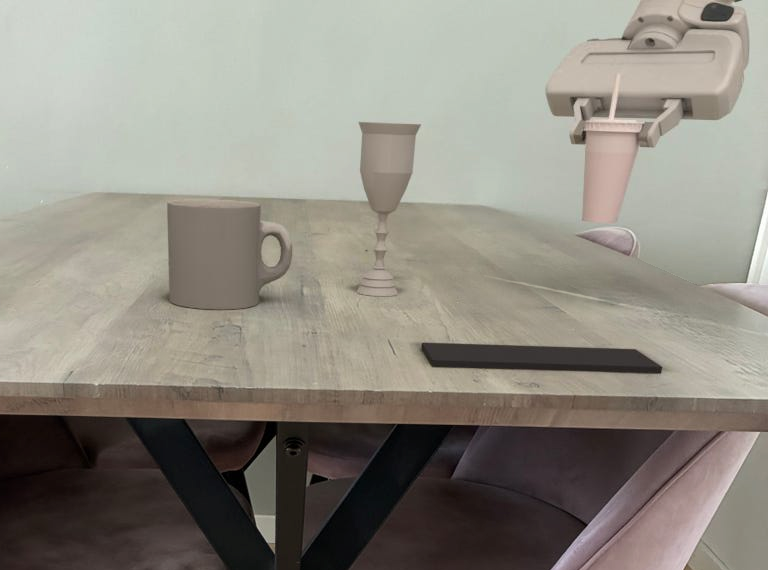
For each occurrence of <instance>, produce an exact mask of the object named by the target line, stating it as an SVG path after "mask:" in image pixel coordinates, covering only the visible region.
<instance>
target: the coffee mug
mask: <svg viewBox="0 0 768 570" xmlns="http://www.w3.org/2000/svg"><path fill="white" fill-rule="evenodd" d="M166 203H167V205H166V207H167V209H166V210H167V211H166V213H167V214H166V215H167V250H168V251H167V254H168V289H169V290H168V291H169V295H168V297H169V302H170V303H171V304H173V305H175V306H180V307H184V308H190V309H197V310H218V311H219V310H220V311H221V310H222V311H223V310H224V311H225V310H241V309H247V308H253V307H255V306H258V305H259V303H260V292H261V289H262V288H263V287H264V286H265V285H268V284H270V283H272V282H274V281H277V280H279V279H281V278H282V277H283V276H285V275H286V273H287V272H288V271H289V269H290V267H291V264H292V259H293V241H292V237H291V235H290V232H289V231H288V229H287V228H286V227H285V226H284V225H282V224H280V223H278V222H273V221H266V220H262V219H261V217H262V216H261V214H262V211H261V210H262V207H261V204H260V203H258V202H254V201H253V202H252V201H248V200H247V201H246V200H234V199H219V198H218V199H217V198H216V199H215V198H185V199H182V198H181V199H172V200H168V201H167V202H166ZM269 236H272V237H274V238H275V239H277V241H278V244H279V247H280V256H279V260H278V262H277V263H276V264H275V265H273V266H268V265H266V263H265V262H264V259H263V256H262V248H263V243H264V240H265V239H266V238H267V237H269Z"/></svg>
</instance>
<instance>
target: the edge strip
mask: <svg viewBox="0 0 768 570" xmlns="http://www.w3.org/2000/svg"><path fill="white" fill-rule="evenodd" d="M420 346H421V347H420V349H421V351H422V352H423V354H424V355H425V357H426V359H427V360H428V362H429V364H430V366H431V367H432V368H434V367H435V368H461V369H462V368H464V369H491V370H492V369H493V370H494V369H495V370H496V369H497V370H529V371H530V370H532V371H558V372H559V371H560V372H561V371H563V372H565V371H566V372H593V373H595V372H596V373H597V372H598V373H625V374H626V373H627V374H629V373H630V374H657V375H658V374H662V372H663V366H662V365H660V364H659V363H657V362H656V361H655V360H653V359H651V358H650V357H648V356H647V355H645V354H643V353H642V352H641V351H640V350H638V349H636V348H610V347H609V348H608V347H581V346H580V347H576V346H549V345H547V346H546V345H515V344H514V345H513V344H483V343H482V344H481V343H479V344H478V343H453V342H452V343H451V342H450V343H449V342H421V345H420Z"/></svg>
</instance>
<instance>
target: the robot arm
mask: <svg viewBox="0 0 768 570" xmlns="http://www.w3.org/2000/svg"><path fill="white" fill-rule="evenodd" d="M742 1H743V0H640V2H639V3H638V5H637V6H636V8H635V10H634V12H633V14H632V16H631V18H630V20H629V21H628V23H627V25H626V27H625V28H624V31H623V33H622V35H621V37H611V38H605V39H600V38H590V39H587V40H586V41H583V42H580V43H579V44H577V45H576V46H573V47H572V48H571V49H570V51H569V52H568V53H567V54H566V55H565V57H564V58H563V59H562V60H561V62H560V63H559V65H557V67H556V69H554V71H553V72H552V75H551V76H550V77H549V79H548V81H547V82H546V85H545V87H544V89H545V90H544V91H545V98H546V102H547V105H548V108H549V111H550V112H551V114H552V115H553V116H554V117H565V118H566V117H571V118H572V117H574V123H573V124H572V127H571V129H570V130H569V140H570V143H571V145H584V146H586V131H583V130H584V128H585V121H587V120H590V121H591V119H592V118H608V119H609V113H610V107H611V101H612V95H613V89H614V83H615V77H616V73H621V80H620V86H619V92H618V98H617V104H616V110H615V116H614V119H651V120H653V119H654V120H653V121H644V122H645V123H644V125H643V127H642V128H643V129H642V130H641V131H640V132H639V136H638V140H639V141H640V144H639V147H640V148H653V149H654V148H656V145H657V144H658V142H659V141H660V138H661V137H664V135H666V134H667V133H669V132H670V131H671V130H674V128H675V127H677V126H679V124H680V122H681V121H682V120H692V121H696V120H698V121H719V120H721V119H723V118H724V117H726V116H727V115H729V114H731V112H732V111H733V110H734V108H735V105H736V103H737V101H738V100H739V97H740V95H741V92H742V89H743V86H744V83H745V70H746V69H747V67H748V65H749V62H750V61H749V60H750V29H749V22H748V17H747V11H746V9H745V8H743V7H741V6H737V5H733V2H734V3H738V2H742Z"/></svg>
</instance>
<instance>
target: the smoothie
mask: <svg viewBox="0 0 768 570" xmlns="http://www.w3.org/2000/svg"><path fill="white" fill-rule="evenodd" d="M620 80H621V73H616V77H615V83H614V89H613V95H612V101H611V107H610V113H609V118H608V119H606V118H594V119H593V120H591V119H590V120H587V121H585V128H584V130H583V131H586V144H585V145H584V146H585V147H584V171H583V172H584V174H583V192H582V193H583V194H582V214H581V215H582V216H581V217H582V219H581V221H582V222H587V223H597V224H598V223H599V224H614V223H615V224H616V223H617V222H618V219H619V216H620V213H621V209H622V206H623V202H624V199H625V196H626V191H627V189H628V185H629V182H630V178H631V175H632V171H633V168H634V164H635V162H636V158H637V155H638V151H639V147H640V145H639V144H640V141H639V140H638V136H639V132H640V131H641V130H642V129H643V128H642V127H643V125H644V123H645V122H646V121H637V120H636V119H615V118H614V116H615V110H616V104H617V98H618V92H619V86H620Z"/></svg>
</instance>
